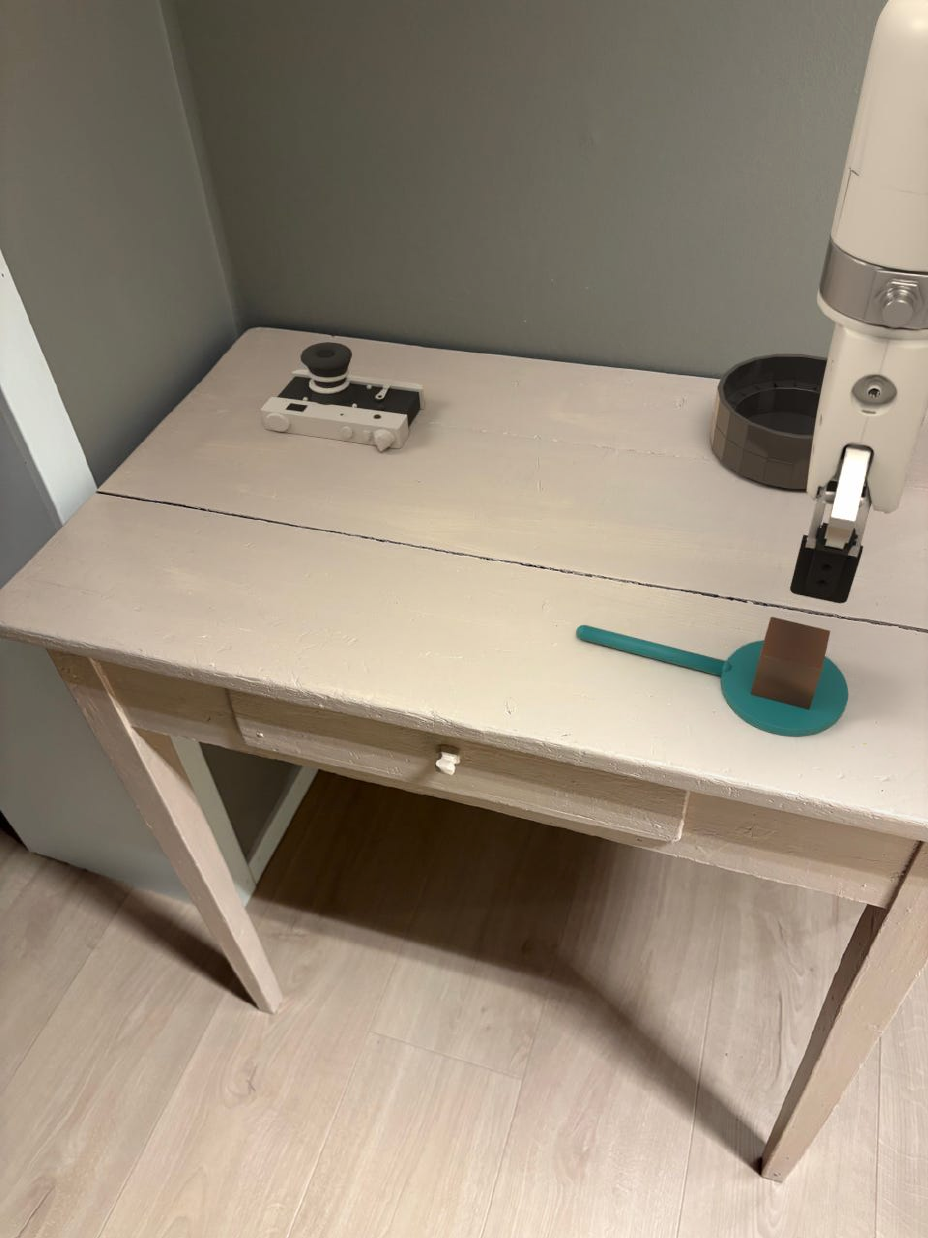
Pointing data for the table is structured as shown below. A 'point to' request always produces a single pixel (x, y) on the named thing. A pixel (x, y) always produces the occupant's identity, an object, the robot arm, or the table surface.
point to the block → (790, 662)
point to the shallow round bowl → (769, 417)
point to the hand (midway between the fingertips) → (827, 544)
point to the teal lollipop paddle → (744, 683)
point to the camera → (343, 402)
